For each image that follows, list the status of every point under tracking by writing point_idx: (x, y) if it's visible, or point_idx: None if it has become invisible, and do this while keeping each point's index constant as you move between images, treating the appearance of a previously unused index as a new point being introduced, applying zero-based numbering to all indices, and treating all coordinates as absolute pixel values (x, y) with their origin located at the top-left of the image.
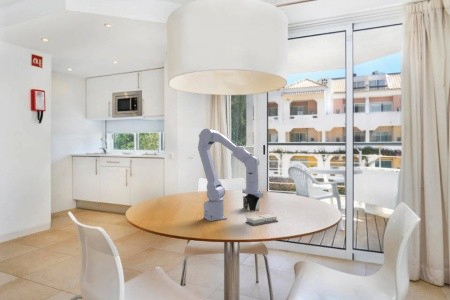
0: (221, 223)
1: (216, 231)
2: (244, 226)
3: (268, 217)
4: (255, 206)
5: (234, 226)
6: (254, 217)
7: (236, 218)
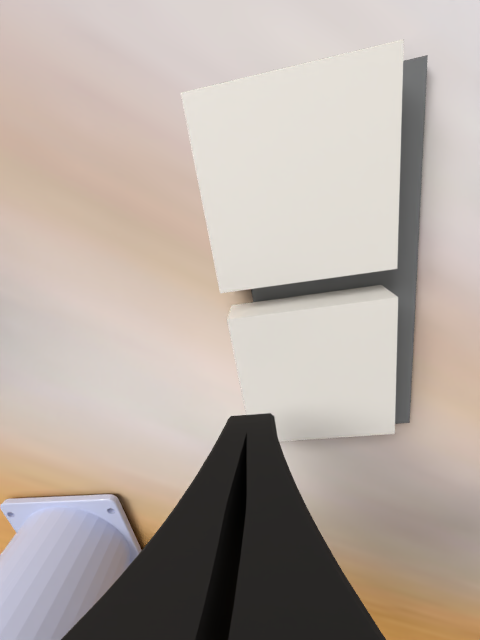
0: None
1: (378, 617)
2: (374, 474)
3: (381, 217)
4: (282, 466)
5: (335, 522)
6: (291, 378)
7: (119, 434)
